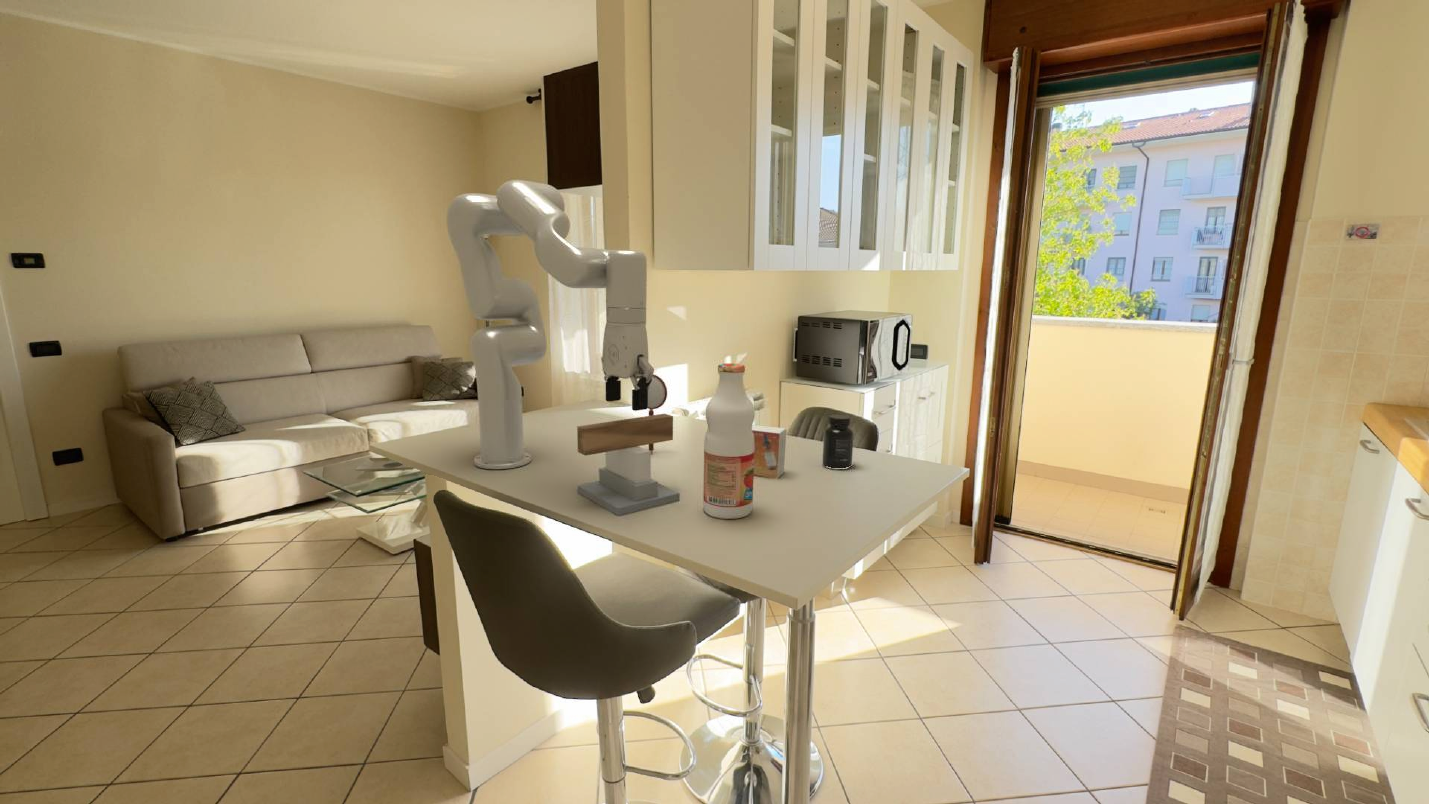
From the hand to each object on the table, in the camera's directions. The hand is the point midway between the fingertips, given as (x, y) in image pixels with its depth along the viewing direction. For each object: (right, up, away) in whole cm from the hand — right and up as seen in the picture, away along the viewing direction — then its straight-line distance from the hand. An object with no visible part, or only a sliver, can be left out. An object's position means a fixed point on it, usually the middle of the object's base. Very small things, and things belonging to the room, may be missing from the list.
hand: (626, 405), depth 126 cm
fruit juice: (+20, -20, -3) cm, 28 cm away
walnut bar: (0, -8, +1) cm, 8 cm away
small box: (+29, -16, +20) cm, 38 cm away
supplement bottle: (+46, -15, +27) cm, 56 cm away
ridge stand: (0, -18, +4) cm, 19 cm away
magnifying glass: (+2, -12, +34) cm, 36 cm away
